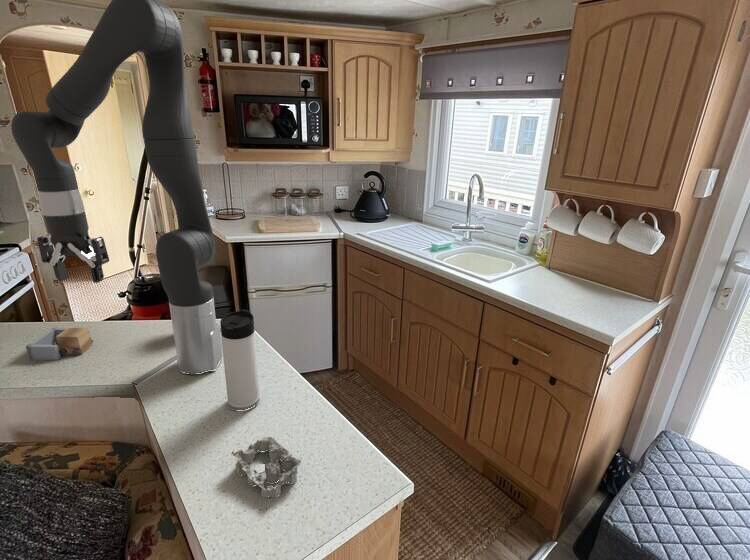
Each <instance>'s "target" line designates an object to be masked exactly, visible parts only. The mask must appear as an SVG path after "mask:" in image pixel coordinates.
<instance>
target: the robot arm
mask: <svg viewBox="0 0 750 560" xmlns="http://www.w3.org/2000/svg"><path fill="white" fill-rule="evenodd" d="M183 41H184V38H183V31H182V27H181V24H180V20H179V19H178V16H177V14H175V12H174V10H172V8H170V7H169V6H168V5H166V4H165V3H163V2H161V1H159V0H110V3H109V4H108V5H107V7H106V9H105V10H104V11H103V14H102V15H101V17H100V20H99V21H98V23H97V25H96V26H95V28H94V30H93V32H92V33H91V35H90V37H89V38H88V40H87V42H86V43H85V46H84V47H83V49H82V50H81V52H80V54H79V55H78V57H77V59H76V60H75V61H74V63H73V64H72V65H71V66H70V68H68V70H66V72H65V73H64V74H63V75H62V76H61V77H60V78H59V79H58V81H57V82H56V83H55V84H54V85H53V86H52V87H51V88H50V89H49V91H48V92H47V94H46V96H45V104H46V106H47V108H48V109H49V110H48V111H33V110H32V111H28V110H26V111H25V110H24V111H19V112H18V113H16V114H15V115H14V116H13V118H12V120H11V125H10V129H11V134H12V136H13V139H14V142H15V143H16V145H17V146H18V148H19V151H20V152H21V154H22V156H23V157H24V158H25V161H26V163H27V164H28V165H29V167H30V169H31V171H32V173H33V176H34V181H35V184H36V188H37V193H38V202H39V205H40V210H41V213H42V217H43V220H44V225H45V229H46V232H47V234H44V235H42V236H38V237H37V238H36V241H37V245H38V250H39V253H40V254H39V255H40V258H41V262H43V264H47V263H48V264H50V265H51V266H52V268H53V272H54V276H55V278H56V279H57V281H58V282H63V281H66V280H67V279H68V278H69V276H68V272H67V267H66V264H65V263H63V262H64V261H65V259H66V258H67V257H74V258H79V259H80V260H81V261H83V262H86V263H87V264H88V266H89V269H90V272H91V277H92V282H93V283H96V284H98V283H101V282H102V281H103V280H104V277H105V275H104V271H103V265H104V264H107V263H109V262H110V257H109V254H108V250H107V246H106V243H105V239H104V237H103V236H99V237H95V238H94V237H90V236H89V235H90V234H89V233H88V232H89V223H88V218H87V215H86V210H85V209H86V208H85V205H84V201H83V198H82V195H81V193H80V188H79V185H78V180H77V176H76V172H75V168H74V166H73V165H72V163H70V162H69V161H66V160H63V159H62V160H61V159H58V158H57V156H56V154H55V152H54V151H53V149H60V148H61V149H62V148H66V147H67V146H69V145H71V144H72V143H74V142H75V140H76V139H78V137H79V135H80V133H81V130H82V128H83V126H84V123H85V120H87V118H88V117H90V116H91V115H92V114H93V112H95V111H96V109H98V108H99V107H100V106H101V104H102V103H103V102H104V101H105V99H107V98H106V97H107V96H108V94H109V92H110V89H111V84H112V80H113V78H114V75H115V72H116V71H117V70H118V68H119V67H120V65H122V64H123V63H124V62H125V61H126V60H128V59H129V58H130V57H132V56H133V55H134V54H136V53H138V52H139V53H143V56H144V61H145V64H146V69H147V76H148V82H149V83H148V85H149V89H148V90H149V91H148V97H147V101H146V105H145V110H144V114H143V117H142V118H143V119H142V139H143V142H144V144H143V145H144V148H145V153H146V158H147V163H148V165H149V166H148V167H150V170H151V171H152V173H153V174H154V176H155V178H156V179H157V180H158V182H159V183H160V184H161V186H162V187H163V188H164V190H165V191H166V192H167V193H166V194H167V195H168V196H169V198H170V199H171V201H172V203H173V206H174V209H175V212H176V213H175V214H176V219H177V226H178V228H177V229H175V230H174V229H173V230H171V231H167V232H166V233H164V234H162V235H161V236H160V237H159V238H158V240H157V241H156V247H155V256H156V263H157V266H158V271H159V276H160V281H161V285H162V287H163V291H164V292H165V293H166V295H167V299H168V305H169V311H170V319H171V326H172V331H173V339H174V344H175V345H174V346H175V352H176V353H175V354H176V359H177V365H178V366H177V367H178V370H179V369H180V370H181V371H182V372H185V373H189V374H196V373H202V372H205V371H208V370H214V369H216V367H217V365H218V363H219V361H220V360H221V358H222V356H223V348H222V338H221V325H220V323H217V319H216V310H215V308H216V307H215V300H214V298H215V297H214V290H213V286H212V284H211V283H210V282H208V281H205V280H200V277H199V271H198V269H199V268H202V267H203V266H205V265H207V264H208V263H209V262H211V261H213V259H214V256H215V253H216V242H215V241H216V240H215V236H214V232H213V228H212V224H211V221H210V217H209V214H208V211H207V206H206V201H205V196H204V191H203V185H202V178H201V175H200V174H201V173H200V168H199V161H198V152H197V146H196V139H195V136H194V135H195V134H194V130H193V126H192V124H193V123H192V120H191V119H192V118H191V111H190V104H189V98H188V91H187V86H186V85H187V83H186V71H185V54H184V42H183ZM54 247H55V248H54ZM221 361H222V360H221ZM217 368H218V367H217ZM180 370H179V371H180ZM216 370H217V369H216ZM181 371H180V372H181ZM182 372H181V373H182Z"/></svg>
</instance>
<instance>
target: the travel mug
mask: <svg viewBox="0 0 750 560" xmlns="http://www.w3.org/2000/svg"><path fill="white" fill-rule="evenodd" d="M254 319H255V318H254V315H253V314H252V313H251V311H250V309H249V310H247V309H243V308H242V309H241V310H239V311H234V312H233V311H232V312H229V313H226V315H224V316H223V317H222V318H221V319H220V323H219V325H220V335H221V345H222V355H223V366H224V367H223V368H224V374H225V376H224V377H225V386H226V397H227V405H229V406H228V408H229V407H230V408H232V409H234V410H245V409H248V408H251V407H253V406H254V405H256V404H257V403H258V401H259V402H260V391H259V390H260V389H259V375H258V359H257V345H256V330H255V320H254ZM258 404H259V403H258ZM258 404H257V405H258ZM230 408H229V409H230ZM232 409H231V410H232ZM234 410H233V411H234Z"/></svg>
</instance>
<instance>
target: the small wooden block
mask: <svg viewBox="0 0 750 560" xmlns="http://www.w3.org/2000/svg"><path fill="white" fill-rule="evenodd" d="M66 328H67V329H66V330H64V331H63V332H62V333H60V334H59V335H57V336H56V339H57V343H56V344H57V345H58V349H59V353H60V356H66V355H65V354H73V355H74V356H80V355H83V354H84V352H85V353H86V352H87V351H88V350H89V349H90V348H92V347H93V346H94V344H93V343H94V340H93V339H92V337H91V332H90V328H89V327H66Z"/></svg>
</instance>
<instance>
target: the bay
mask: <svg viewBox="0 0 750 560" xmlns="http://www.w3.org/2000/svg"><path fill="white" fill-rule="evenodd" d="M67 328H68V327H52V328H51V329H49V330H48V331H46V332H45V333H44V334H42V335H40V336H39V337H37V338H36V339H35V340H33V341H31V342H30V343H29V344H27V345H26V346H25V348H26V352H27V356H28V359H29V360H35V361H36V360H45V361H46V360H47V361H48V360H49V361H52V360H53V361H59V360H60V359H61V358H62V356H61V355H60V353H59V346H58V344H56V343H55V342H57V339H56V336H57V335H59V334H60V333H62V332H63V331H64V330H66V329H67ZM54 343H55V344H54ZM53 344H54V345H53Z"/></svg>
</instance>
